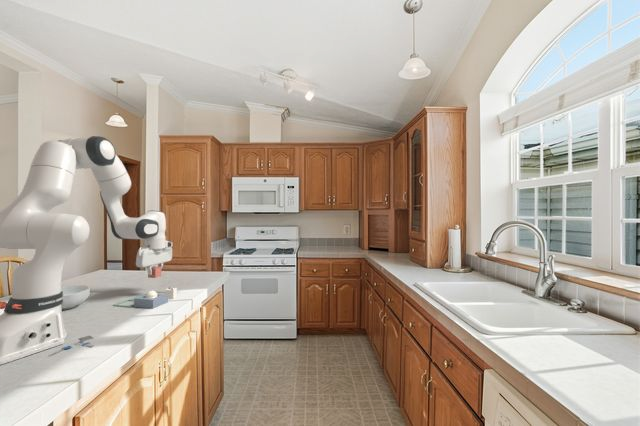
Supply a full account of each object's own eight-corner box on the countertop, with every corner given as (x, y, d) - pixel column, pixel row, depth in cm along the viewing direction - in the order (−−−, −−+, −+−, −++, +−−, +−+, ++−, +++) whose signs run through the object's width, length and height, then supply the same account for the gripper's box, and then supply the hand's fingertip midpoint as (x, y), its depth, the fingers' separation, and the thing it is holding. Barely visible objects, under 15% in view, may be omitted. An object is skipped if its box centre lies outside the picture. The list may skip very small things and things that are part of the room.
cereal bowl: (44, 304, 129) (44, 287, 129) (93, 299, 136) (93, 283, 136) (29, 316, 114) (29, 297, 114) (84, 311, 121) (85, 293, 121)
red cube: (155, 278, 144) (155, 268, 144) (147, 277, 145) (148, 267, 145) (161, 276, 148) (161, 266, 148) (153, 275, 149) (154, 266, 148)
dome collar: (153, 308, 126) (153, 300, 126) (133, 306, 127) (134, 298, 127) (167, 302, 135) (167, 294, 135) (149, 300, 136) (149, 292, 136)
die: (173, 298, 140) (173, 288, 140) (164, 298, 139) (164, 288, 139) (176, 296, 144) (176, 286, 144) (167, 296, 143) (168, 286, 143)
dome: (152, 304, 128) (152, 292, 128) (143, 304, 129) (143, 291, 129) (159, 301, 133) (159, 289, 133) (150, 301, 134) (150, 289, 134)
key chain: (83, 337, 98) (83, 334, 98) (110, 337, 98) (110, 334, 98) (47, 357, 84) (47, 354, 84) (79, 357, 84) (79, 354, 84)
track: (130, 307, 127) (130, 306, 127) (112, 305, 128) (112, 304, 128) (168, 293, 149) (168, 292, 149) (152, 291, 151) (152, 291, 151)
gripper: (144, 247, 135) (144, 278, 135) (174, 242, 155) (174, 269, 155) (132, 246, 136) (131, 277, 137) (163, 242, 157) (163, 269, 157)
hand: (154, 273), depth 146 cm, fingers closed on red cube, 4 cm apart
